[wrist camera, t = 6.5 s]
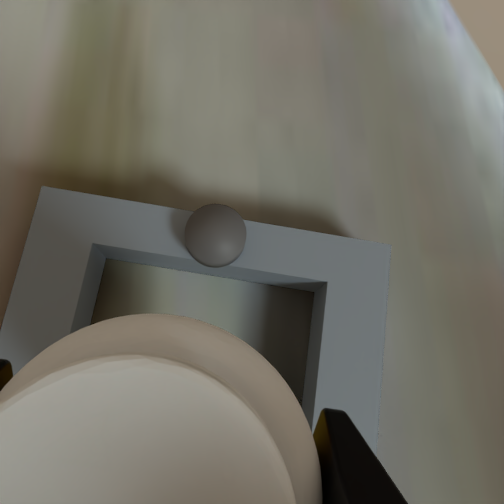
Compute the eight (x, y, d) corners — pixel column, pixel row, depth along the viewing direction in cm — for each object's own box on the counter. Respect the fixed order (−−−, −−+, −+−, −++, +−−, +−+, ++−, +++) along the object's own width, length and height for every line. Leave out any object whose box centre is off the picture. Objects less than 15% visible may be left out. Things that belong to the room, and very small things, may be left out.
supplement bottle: (278, 360, 15) (401, 326, 6) (251, 549, 14) (353, 957, 4) (111, 331, 15) (-68, 243, 5) (64, 519, 14) (-305, 877, 4)
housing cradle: (343, 602, 18) (371, 650, 15) (-33, 552, 18) (-87, 591, 14) (371, 254, 22) (399, 234, 19) (62, 203, 21) (35, 173, 18)
